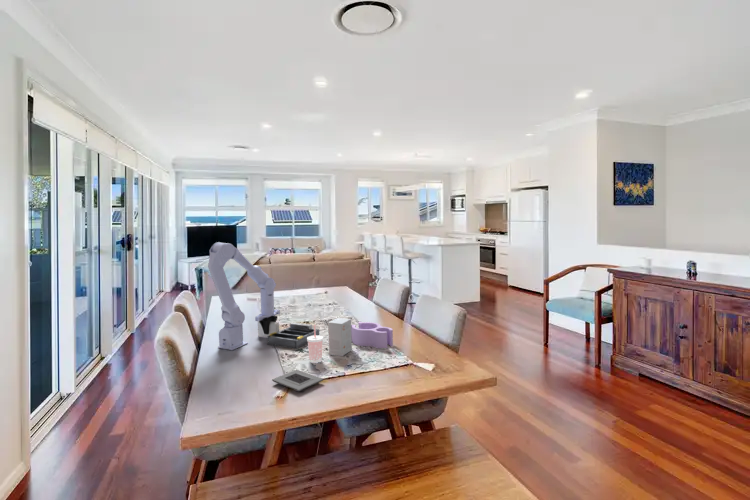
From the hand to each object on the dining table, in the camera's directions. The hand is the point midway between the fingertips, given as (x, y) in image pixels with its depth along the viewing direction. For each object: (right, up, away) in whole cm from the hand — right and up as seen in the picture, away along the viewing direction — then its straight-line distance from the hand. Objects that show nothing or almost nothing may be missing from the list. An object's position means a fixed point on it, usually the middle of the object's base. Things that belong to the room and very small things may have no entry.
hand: (268, 333), depth 185 cm
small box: (+34, -4, -21) cm, 40 cm away
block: (0, -2, 0) cm, 2 cm away
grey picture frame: (+23, -7, -51) cm, 56 cm away
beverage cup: (+26, -5, -30) cm, 40 cm away
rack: (+13, -2, -6) cm, 14 cm away
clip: (+47, -3, -9) cm, 47 cm away
